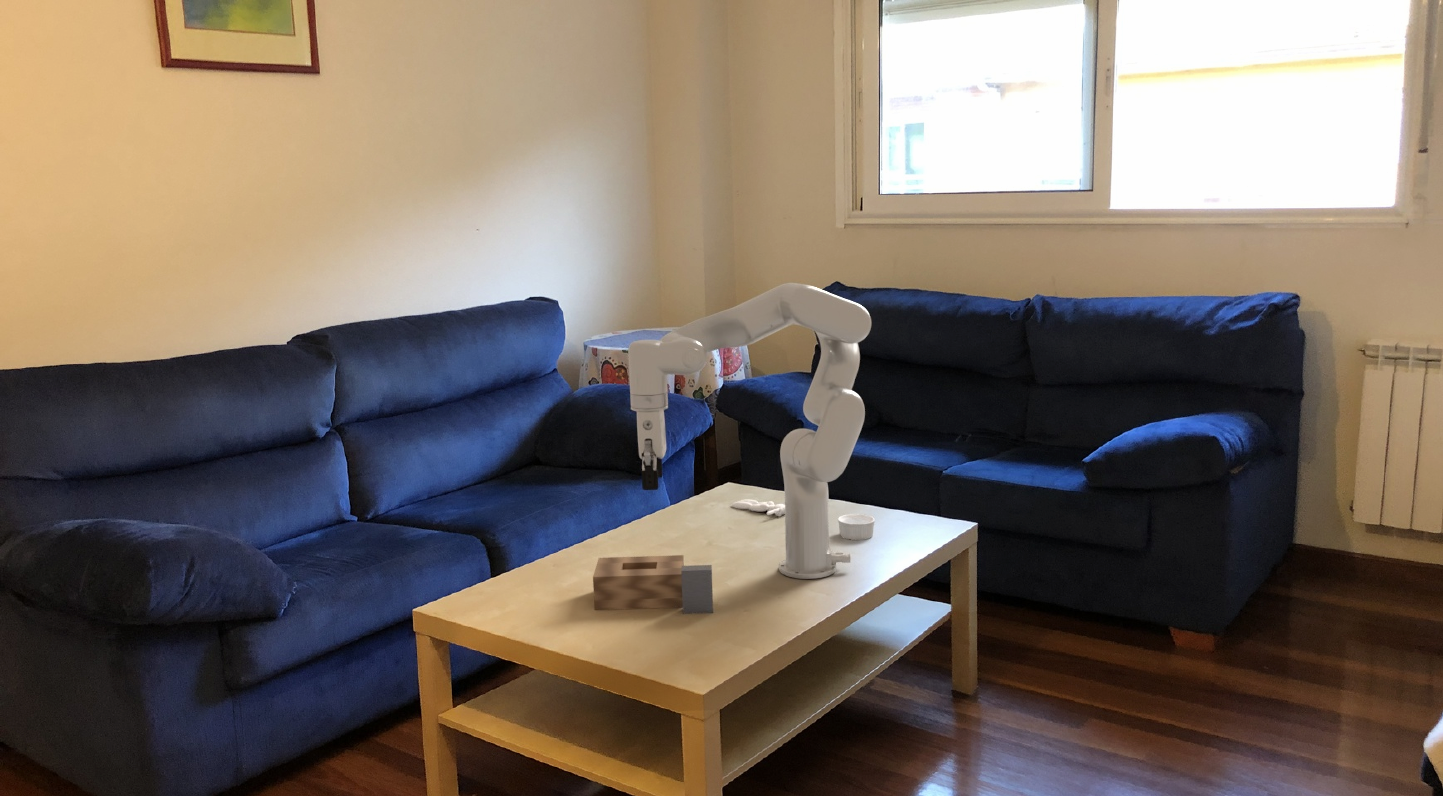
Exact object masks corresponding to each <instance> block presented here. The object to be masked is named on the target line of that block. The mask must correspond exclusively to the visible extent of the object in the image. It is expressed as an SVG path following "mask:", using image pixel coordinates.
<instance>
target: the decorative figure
mask: <svg viewBox="0 0 1443 796" xmlns="http://www.w3.org/2000/svg"><path fill="white" fill-rule="evenodd" d="M731 507H732V508H734V509H735V508H736V509H739V510H749V511H753V512H761V513H762V512H763V513H764V512H766V511H767V512H766V515H767V516H771V515H775V517H777V516H779V517H781V516H785V515H784V514H785V503H784V504H783V503H778V504H777V503H776V504H775V503H774V502H773V501H772V500H771V501H760V502H758V500H755V499H739V500H738V501H734V502H732V503H731Z"/></svg>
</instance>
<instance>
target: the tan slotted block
mask: <svg viewBox="0 0 1443 796" xmlns="http://www.w3.org/2000/svg"><path fill="white" fill-rule="evenodd" d="M684 556H685V555H684V554H681V555H678V554H677V555H650V556H649V555H648V556H644V555H643V556H616V557H614V556H613V557H598V559H597V561H596V562H597V563H596V565H595V570H594V572H593V575H592V582H593V583H592V585H593V586H592V587H593V603H594V605H593V606H594V607H593V608H594V611H605V610H608V611H609V610H634V609H635V610H639V609H640V610H641V609H665V608H667V609H668V608H669V609H671V608H672V609H673V608H683V601H682V574H681V569H682V566H685V560H684V558H685V557H684Z"/></svg>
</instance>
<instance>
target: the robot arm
mask: <svg viewBox="0 0 1443 796" xmlns="http://www.w3.org/2000/svg"><path fill="white" fill-rule="evenodd" d="M792 325H796V326H801V327H803V328H807V329H810V330H812V331H814V332H815V334H816V336H817V338H818V340H819V344H820V351H821V352H820V359H819V361H818V365H817V368H816V370H815V373H814V376H813V379H812V381H811V384H810V387H809V388H808V391H807V394H806V396H805V397H804V398H805V399H804V401H803V405H802V406H803V407H802V409H803V411H802V412H803V415H804V416H805V419H807V420H808V421H809V422H810V423H812V424H813V425H816V426H818V427H817V430H816V431H815V430H813V429H809V428H797V429H793V430H792V431H790V432H789V433H787V434H786V436H785V437H783V439H782V442H781V444H780V445H781V446H780V448H779V449H780V450H779V453H780V455H779V456H780V457H779V458H780V463H781V469H782V476H783V484H784V487H783V488H784V505H785V515H784V523H785V524H784V525H785V527H784V528H785V533H784V534H785V559H784V560H782V561H781V562H779V564H778V570H779V572H780V573H781V574H782V575H784V576H787V577H790V578H794V579H798V580H799V579H801V580H813V579H814V580H815V579H821V578H826V577H829V576H831V575H833V574H834V573H836V571H837V563H842V564H845V563H851V554H850V553H844V551H833V550H831V548H830V543H829V542H830V535H829V534H830V533H829V531H830V530H829V529H830V528H829V527H830V525H829V524H830V523H829V502H830V501H829V485H828V483H829V482H833V481H835V480H837V479H838V478H839V477H840V476H841V475H842V474H843V473H844V471H845V470H846V467H847V466H848V463H849V461H850V459H851V456H852V454H853V451H854V448H855V447H856V443H857V441H858V439H859V436H860V433H861V431H862V428H863V425H864V423H865V416H866V411H865V410H866V409H865V404H864V401H863V399H862V397H861V396H860V395H859V394H858V393H857V392H856V391H854V390H853V387H854V384H855V379H856V377H857V374H858V372H859V367H860V362H861V361H860V360H861V354H860V347H859V343H860V342H862V341H864V340H865V339H866V337H867V336H868V335H869V334H870V331H871V328H872V317H871V316H870V313H869V311H868V310H867V309H866V307H864V306H862V305H861V304H860V303H857V302H855V301H852V300H850V299H846V298H843V297H842V296H838V295H836V294H833V293H830V292H828V291H826V290H823V289H821V288H818V287H816V286H813V285H809V284H803V283H796V282H787V283H783V284H782V283H781V284H780V285H778V286H775V287H774V288H771V289H769V290H767V291H764V292H763V293H761V294H759V295H756V296H754V297H752V298H751V299H749V300H746V301H744V302H741V303H740V304H738V305H735V306H734V307H731V308H728V309H724V310H721V311H719V312H716V313H713V314H710V315H708V316H704V317H701V318H698V319H696V320H693V321H691V322H689V323H686V324H685V325H682V326H680V327H678V328H676V329H674V330H672V331H670V332H668V333H666V334H665V335H663V336H662V337H661V338H660V339H659V340H658V339H639V340H635V341H632V342H631V343H630V344H629V346H628V353H627V354H628V374H629V375H628V376H629V392H630V394H629V396H630V398H629V399H630V410H632V411H634V412H636V428H637V443H638V445H637V446H638V456H639V458H640V459H641V460H642V461H641V462H642V465H641V469H642V470H641V486H642V487H641V488H642V490H643V491H656V490H657V491H658V490H659V478H662V477H663V475H664V474H663V459H664V457H665V456H666V451H667V438H666V437H667V436H666V423H665V422H666V421H665V420H666V419H665V412H664V411H665V410H667V409H668V408H669V399H668V397H669V396H668V395H669V394H668V375H672V376H673V375H674V376H676V375H677V376H691V375H692V376H693V375H695V374H697V373H699V372H701V371H702V370H703V369H704V368H705V366H706V364H707V362H708V353H711V352H712V351H717V350H721V349H726V348H729V349H731V348H741V347H746V346H750V345H753V344H755V343H757V342H759V341H760V340H762V339H763V340H764V339H765V338H767V337H769V336H771V335H773V334H775V333H777V332H779V331H781V330H783V329H785V328H787V327H790V326H792Z"/></svg>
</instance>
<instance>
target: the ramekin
mask: <svg viewBox="0 0 1443 796" xmlns="http://www.w3.org/2000/svg"><path fill="white" fill-rule="evenodd" d="M875 520H876V519H875V518H874V517H873V516H871V515H867V514H862V513H848V514H844V515H840V516H839V517H838V518H837V522H838V526H839V535H841V536H842V537H841V536H840V537H841V538H843V537H844V538H843V539H845V538H846V540H849V539H851V540H850V541H863V540H864V539H865V540H868V538H869V539H871V538H872V537H873V535H874V526H875V522H876V521H875ZM870 537H871V538H870Z"/></svg>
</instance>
